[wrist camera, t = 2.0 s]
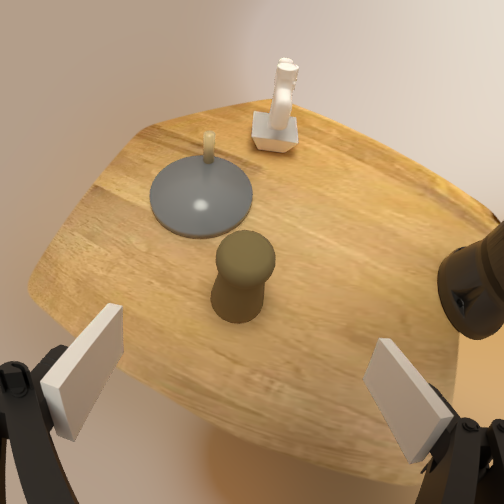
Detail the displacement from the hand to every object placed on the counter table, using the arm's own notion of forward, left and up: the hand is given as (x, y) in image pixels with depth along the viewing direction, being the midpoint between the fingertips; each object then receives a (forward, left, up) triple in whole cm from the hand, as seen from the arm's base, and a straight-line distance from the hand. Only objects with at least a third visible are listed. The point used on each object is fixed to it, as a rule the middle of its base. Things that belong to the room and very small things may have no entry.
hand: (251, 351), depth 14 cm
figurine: (+11, -36, -18) cm, 42 cm away
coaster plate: (+15, -20, -18) cm, 31 cm away
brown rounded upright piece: (+4, -9, -18) cm, 21 cm away
